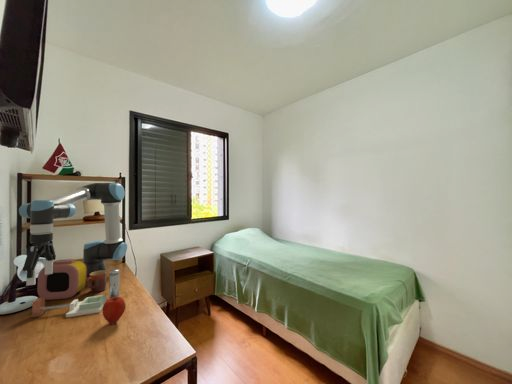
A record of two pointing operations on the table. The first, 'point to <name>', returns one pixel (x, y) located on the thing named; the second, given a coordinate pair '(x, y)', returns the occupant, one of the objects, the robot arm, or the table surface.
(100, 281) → the mug
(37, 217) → the robot arm
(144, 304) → the table surface
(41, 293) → the alarm clock
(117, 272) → the silver metal cylinder
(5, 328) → the table surface
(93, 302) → the dock
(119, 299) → the apple
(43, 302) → the pin
